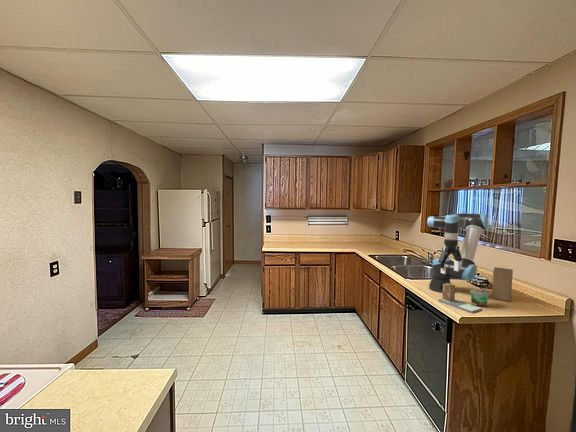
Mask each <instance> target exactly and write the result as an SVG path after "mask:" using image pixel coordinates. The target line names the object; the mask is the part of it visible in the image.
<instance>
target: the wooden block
mask: <svg viewBox="0 0 576 432" xmlns="http://www.w3.org/2000/svg"><path fill="white" fill-rule="evenodd" d="M492 273H493V274H492V287H491V288H492V289H491V298H492V299H493V300H497V301H502V300H503V302H509V303H510V302H512V292H513V291H512V287H513V286H512V285H513V269H510V268H505V267H504V268H503V267H497V266H495V267H493V271H492Z"/></svg>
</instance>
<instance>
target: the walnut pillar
mask: <svg viewBox="0 0 576 432" xmlns="http://www.w3.org/2000/svg"><path fill="white" fill-rule="evenodd" d="M441 295H442V296H441V299H443V300H446V301H449V302H451V301H455V300H456V299H455V298H456V285H455V284H452V283H451V284H449V283H446V284H443V292H441Z"/></svg>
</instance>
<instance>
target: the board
mask: <svg viewBox="0 0 576 432" xmlns="http://www.w3.org/2000/svg"><path fill="white" fill-rule="evenodd" d="M437 302H439V303H441V304H445V305H448V306H451V307H453V308H455V309H456V308H457V309H459V310H461V311H465V312H467V313H470V314H473V313H477V312H481V311H482V308H483V307H477V306H474V305H471V303H466V302H464V301H460V300H458V299H455V301H451V302H449V301H446V300H443V299H442V298H440V299H437Z"/></svg>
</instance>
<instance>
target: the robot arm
mask: <svg viewBox="0 0 576 432" xmlns="http://www.w3.org/2000/svg"><path fill="white" fill-rule="evenodd" d="M426 224H427V227H430V228H438V229H439V228H441V229H444V240H443V241H444V242H443V245H444V246H445V247H443V246H442V248H441V252H440V254H439V255H440V256H439V258H437V257H436V258H434V259H433V260H432V271H431V275H432V277H431V280H430V282H429V284H428V288H429V290H431V291H434V292H438V293H442V292H443V284H446V283H449V284H452V282H451V278H452V279H456V280H462V281H467V282H471V281H473V280H474V279H475V277H476V276H477V272H478V271H477V270H478V268H477V267H478V266H477V265H476V263H475V261H474V259H475V255H476V252H477V248H478V246H479V245H478V244H479V241H480V237H481V235H482V234H484V232H485V231H488V230H489V218H488V215H487V214H485V213H468V212H467V213H465V212H464V213H462V212H461V213H456V214H455V213H454V214H446V215H443V216H440V215H439V216H433V215H431V216H428V217H427V221H426ZM461 229H464V230H465V231H466V232H465V237H464V240H463V243H462V247H461V250H460V246H459V240H458V239H459V230H461ZM450 255H452V257H453V258H454V261H452V259H451V258H449V256H450Z"/></svg>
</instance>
